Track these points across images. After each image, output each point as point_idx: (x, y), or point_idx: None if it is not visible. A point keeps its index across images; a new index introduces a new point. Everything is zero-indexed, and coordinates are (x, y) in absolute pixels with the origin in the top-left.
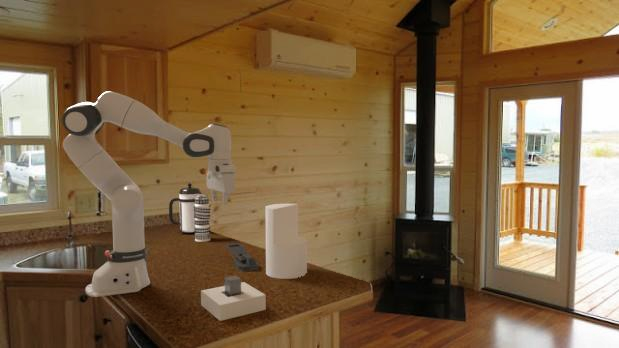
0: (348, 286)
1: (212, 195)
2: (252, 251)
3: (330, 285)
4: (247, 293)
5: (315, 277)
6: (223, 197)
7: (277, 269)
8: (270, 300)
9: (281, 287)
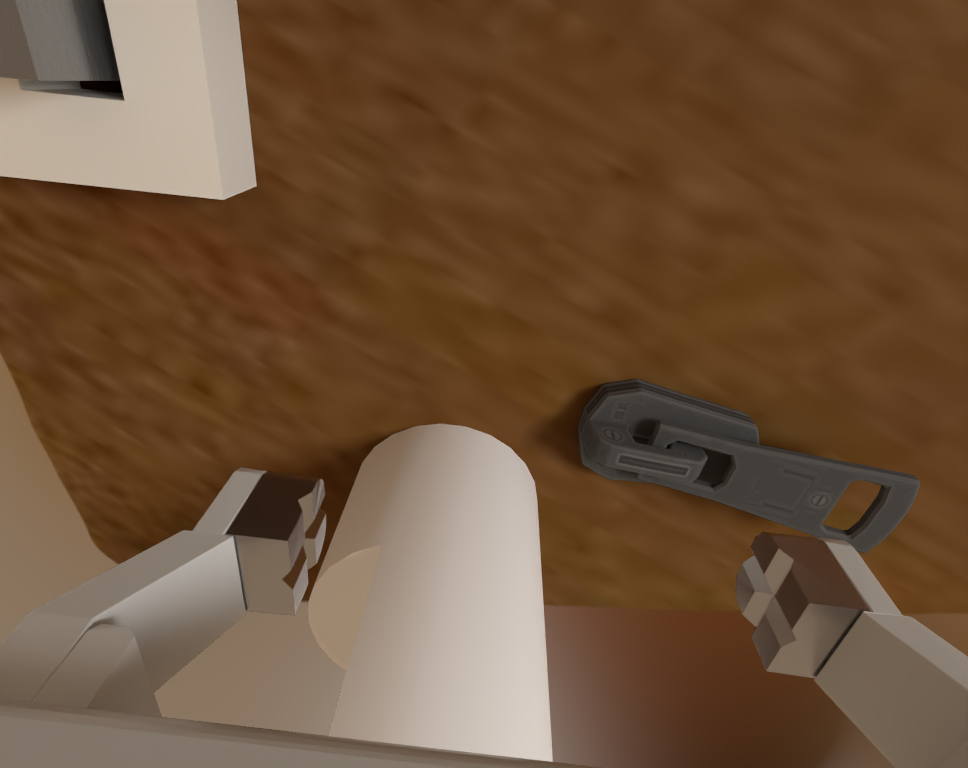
0: None
1: (912, 633)
2: None
3: None
4: (17, 102)
5: None
6: (124, 567)
7: (389, 458)
8: (139, 248)
9: (277, 378)
